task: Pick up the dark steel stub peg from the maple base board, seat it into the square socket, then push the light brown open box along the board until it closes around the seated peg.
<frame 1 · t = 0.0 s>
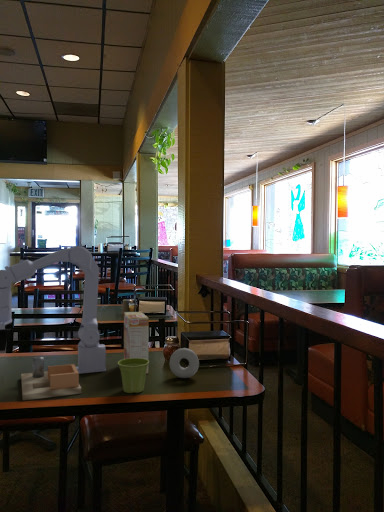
hand: (1, 348, 135), 10 cm above the table, tool pointing down, fingers open, 7 cm apart
coffeecake box: (135, 369, 149), on the table
peg: (38, 376, 133), point 2 cm above the table, touching board
donut: (184, 378, 138), on the table
plant pot: (133, 391, 125), on the table
board: (49, 385, 129), on the table
light brown open box: (62, 376, 127), point 4 cm above the table, slide at 5.5 cm
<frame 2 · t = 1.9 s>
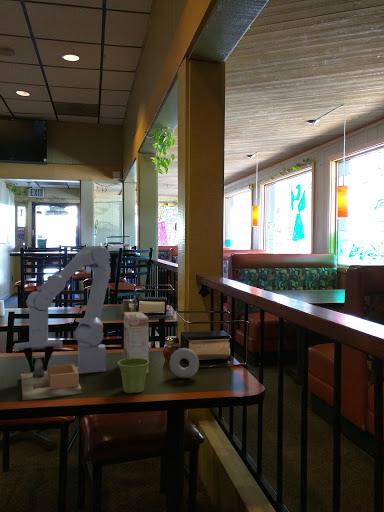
hand: (38, 371, 133), 3 cm above the table, tool pointing down, fingers closed on peg, 4 cm apart
peg: (38, 376, 133), point 2 cm above the table, touching board, gripper
everything else where it was.
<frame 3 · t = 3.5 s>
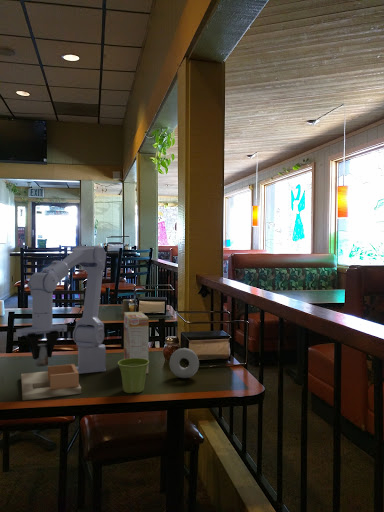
hand: (42, 357, 124), 10 cm above the table, tool pointing down, fingers closed on peg, 4 cm apart
peg: (41, 364, 124), point 8 cm above the table, touching gripper
everything else where it was.
when the fingers open (3 cm above the table, at t = 5.2 s): peg stays where it is, resting on board.
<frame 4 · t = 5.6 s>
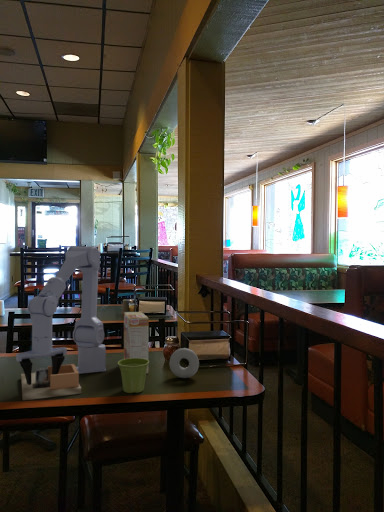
hand: (42, 381, 124), 3 cm above the table, tool pointing down, fingers open, 7 cm apart
peg: (41, 389, 124), resting on board
everything else where it was.
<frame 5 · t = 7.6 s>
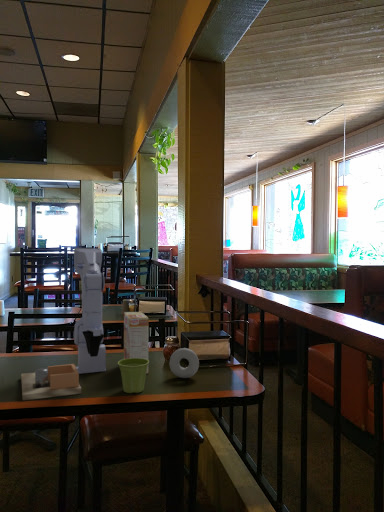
hand: (92, 354, 130), 9 cm above the table, tool pointing down, fingers open, 3 cm apart
nothing on the table moved.
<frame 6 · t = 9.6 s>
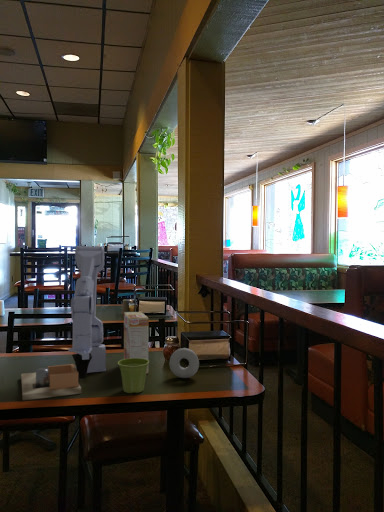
hand: (81, 377, 129), 3 cm above the table, tool pointing down, fingers closed, pressing on light brown open box
light brown open box: (62, 376, 127), point 4 cm above the table, slide at 5.4 cm, touching gripper
everything else where it was.
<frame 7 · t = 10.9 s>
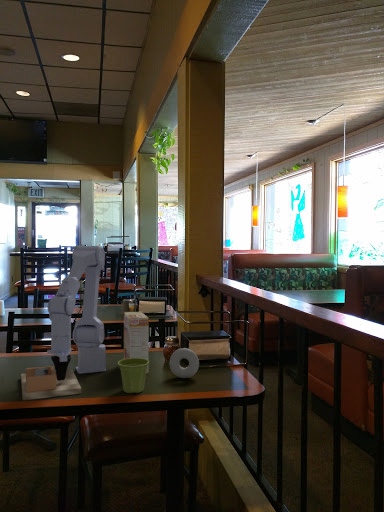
hand: (60, 379, 126), 3 cm above the table, tool pointing down, fingers closed, pressing on light brown open box
light brown open box: (40, 378, 124), point 4 cm above the table, slide at -0.9 cm, touching gripper
everything else where it was.
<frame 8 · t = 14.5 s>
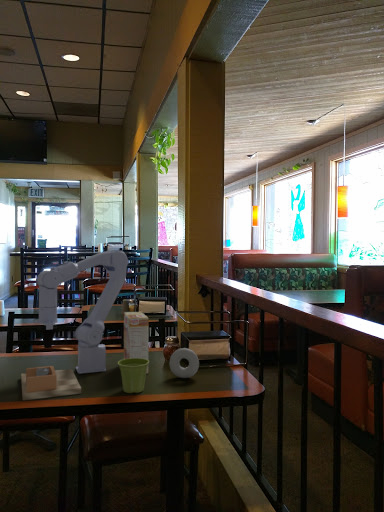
hand: (47, 347, 137), 10 cm above the table, tool pointing down, fingers closed
light brown open box: (40, 378, 124), point 4 cm above the table, slide at -0.8 cm
everything else where it was.
at the end: peg 0.2 cm from the target spot, resting on board; peg tilted 3°; light brown open box slide at -0.8 cm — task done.
